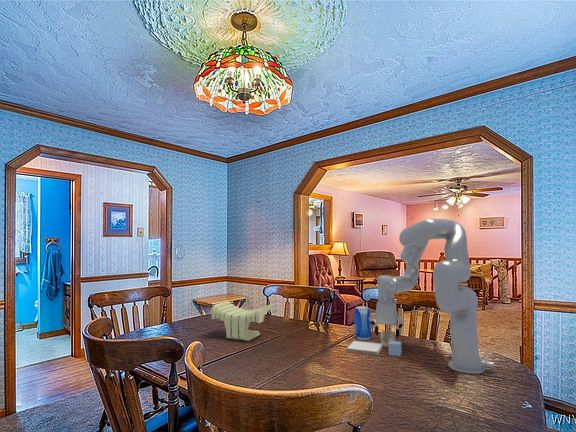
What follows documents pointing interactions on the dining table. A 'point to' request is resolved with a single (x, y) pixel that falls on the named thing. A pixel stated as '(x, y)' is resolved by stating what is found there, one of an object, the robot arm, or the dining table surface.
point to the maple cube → (387, 337)
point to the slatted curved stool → (239, 319)
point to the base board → (364, 348)
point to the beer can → (362, 323)
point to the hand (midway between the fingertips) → (387, 336)
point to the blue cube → (395, 348)
